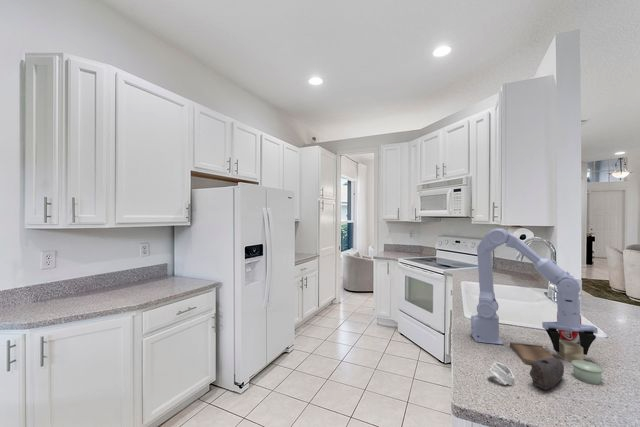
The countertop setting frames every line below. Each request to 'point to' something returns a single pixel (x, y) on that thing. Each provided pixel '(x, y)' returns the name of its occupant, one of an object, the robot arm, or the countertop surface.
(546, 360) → the perforated stone tool
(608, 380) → the countertop surface
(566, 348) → the beech block
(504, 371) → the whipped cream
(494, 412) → the countertop surface
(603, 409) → the countertop surface
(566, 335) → the soda can
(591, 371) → the green lidded container
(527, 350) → the walnut board
